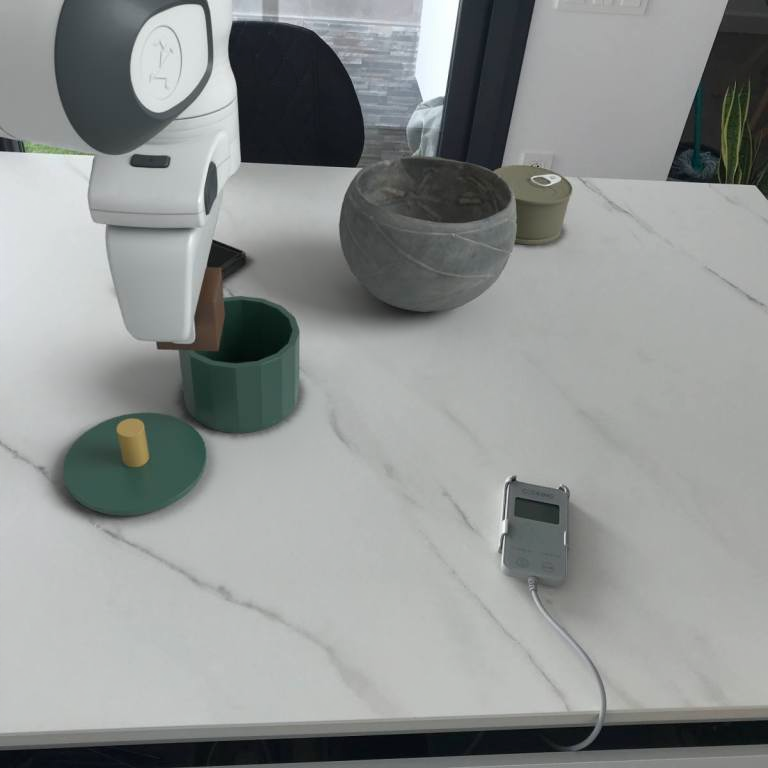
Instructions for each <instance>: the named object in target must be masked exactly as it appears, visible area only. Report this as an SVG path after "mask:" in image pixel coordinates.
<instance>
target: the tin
mask: <svg viewBox="0 0 768 768" xmlns="http://www.w3.org/2000/svg"><path fill="white" fill-rule="evenodd" d="M224 310H225V318H224V324H223V329H222V334H221V340H220V345H219V350H218V351H192V350H178V356H179V365H180V374H181V375H180V376H181V382H182V391H183V398H184V405H185V408H186V410H187V411H188V413H189V414H190V415H191V417H192V418H193V419H194V420H195V421H197V422H198V423H200V424H201V425H203V426H204V427H207V428H209V429H211V430H214V431H219V432H223V433H229V434H230V433H231V434H247V433H254V432H260V431H263V430H266V429H269V428H272V427H273V426H275V425H277V424H279V423H280V422H282V421H283V420H285V419H286V418H287V417H288V416H290V414H291V413H292V412H293V410H294V409H295V407H296V405H297V403H298V398H299V393H300V348H301V347H300V346H301V345H300V338H301V337H300V333H301V332H300V327H299V324H298V322H297V319H296V317H295V316H294V315H293V314H292V313H291V312H290V311H289V310H288V309H286V308H285V307H284V306H283V305H281V304H278V303H275V302H273V301H270V300H268V299H266V298H262V297H261V298H260V297H253V296H244V295H239V296H230V297H229V296H226V297H224Z"/></svg>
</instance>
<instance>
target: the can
mask: <svg viewBox="0 0 768 768" xmlns="http://www.w3.org/2000/svg"><path fill="white" fill-rule="evenodd" d="M492 171H493V172H495V173H496V174H498V175H500V177H502V178H503V179H504V180H505V181H506V182H507V183H508V184H509V185H510V186H511V188H512V190H513V193H514V197H515V201H516V213H517V221H516V224H517V230H516V239H515V243H514V244H520V245H526V246H528V245H529V246H537V245H538V246H539V245H544V244H548V243H551V242H554V241H555V240H557V239H558V238H559V237H560V235H561V233H562V228H563V225H564V220H565V217H566V213H567V209H568V205H569V201H570V198H571V196H572V195H573V186H572V184H571V182H570V181H569V180H568V179H566V177H564V176H563V175H561V174H559V173H557V172H555V171H552V170H549V169H546V168H543V167H539V166H534V165H525V164H524V165H523V164H514V165H505V166H502V167H499V168H496V169H494V170H492Z"/></svg>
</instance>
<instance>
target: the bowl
mask: <svg viewBox="0 0 768 768" xmlns="http://www.w3.org/2000/svg"><path fill="white" fill-rule="evenodd" d="M493 171H494V170H492V169H489V168H487V167H484V166H480V165H479V164H474V163H471V162H465V161H459V160H455V159H449V158H443V157H440V156H439V157H438V156H427V155H426V156H425V155H410V156H409V155H408V156H400V157H393V158H390V159H384V160H380V161H378V162H375V163H374V162H373V163H371V164H368V165H366V166H364V167H362V168H361V169H360V170H358V171H357V173H356V174H355V175H354V177H353V178H352V179H351V181H350V183H349V185H348V187H347V190H345V191H346V192H345V193H344V197H343V200H342V204H341V209H340V212H339V213H340V214H339V222H338V233H339V234H338V235H339V240H340V241H339V242H340V247H341V251H342V255H343V258H344V260H345V262H346V264H347V265H348V268H349V269H350V272H351V273H352V275H353V276H354V277H355V278H356V279H357V281H358V282H359V283H360V284H361V286H362V287H363V289H365V290H366V291H367V292H368V293H370V294H371V295H372V296H373V297H374V298H376V299H377V300H379V301H381V302H383V303H385V304H387V305H390V306H392V307H396V308H399V309H403V310H407V311H412V312H422V313H428V312H443V311H444V312H445V311H449V310H454V309H457V308H459V307H463V306H464V305H466V304H468V303H470V302H472V301H473V300H475V299H477V298H479V297H481V295H483V294H484V293H485V292H486V291H488V290H489V289H490V288H491V287H492V286H493V285H494V284H495V283H496V282H497V280H499V278H500V276H501V275H502V273H503V272H504V269H505V268H506V266H507V264H508V262H509V259H510V257H511V253H512V252H513V251H514V247H515V244H516V243H515V239H516V230H517V224H516V221H517V213H516V201H515V197H514V193H513V190H512V188H511V186H510V185H509V184H508V183H507V182H506V181H505V180H504V179H503V178H502V177H500V175H498V174H496V173H495V172H493Z"/></svg>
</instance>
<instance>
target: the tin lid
mask: <svg viewBox="0 0 768 768" xmlns="http://www.w3.org/2000/svg"><path fill="white" fill-rule="evenodd" d="M207 458H208V457H207V447H206V444H205V441H204V439H203V437H202V435H201V434H200V432H198V431H197V429H195V428H194V427H193V426H192V424H191V425H190V424H189V423H188V422H186V421H185V420H182V419H181V418H178V417H176V416H172V415H168V414H164V413H158V412H132V413H127V414H123V415H120V416H114V417H111V418H109V419H106V420H104V421H101V422H99V423H98V424H95V425H94V426H92V427H91V428H89V429H88V430H86V431H85V432H84V433H82V434H81V435H80V436H78V438H76V440H75V441H74V442H73V443H72V445H71V446H70V448H69V449H68V451H67V453H66V455H65V457H64V461H63V466H62V474H63V475H62V476H63V479H64V480H63V481H64V483H65V486H66V489H67V491H68V492H69V493H70V495H71V496H72V497H73V498H74V499H75V500H76V501H77V502H78V503H80V505H83V506H84V507H86V508H87V509H90V510H92V511H95V512H98V513H100V514H104V515H105V514H106V515H111V516H137V515H142V514H148V513H151V512H152V513H153V512H155V511H159V510H161V509H165V508H166V507H168V506H170V505H172V504H174V503H176V502H178V501H179V500H181V499H182V498H183V497H185V496H187V495H188V493H190V492H191V491H192V490H193V489H194V488H195V487H196V485H197V484H198V482H200V479H202V476H203V475H204V472H205V470H206V467H207Z"/></svg>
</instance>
